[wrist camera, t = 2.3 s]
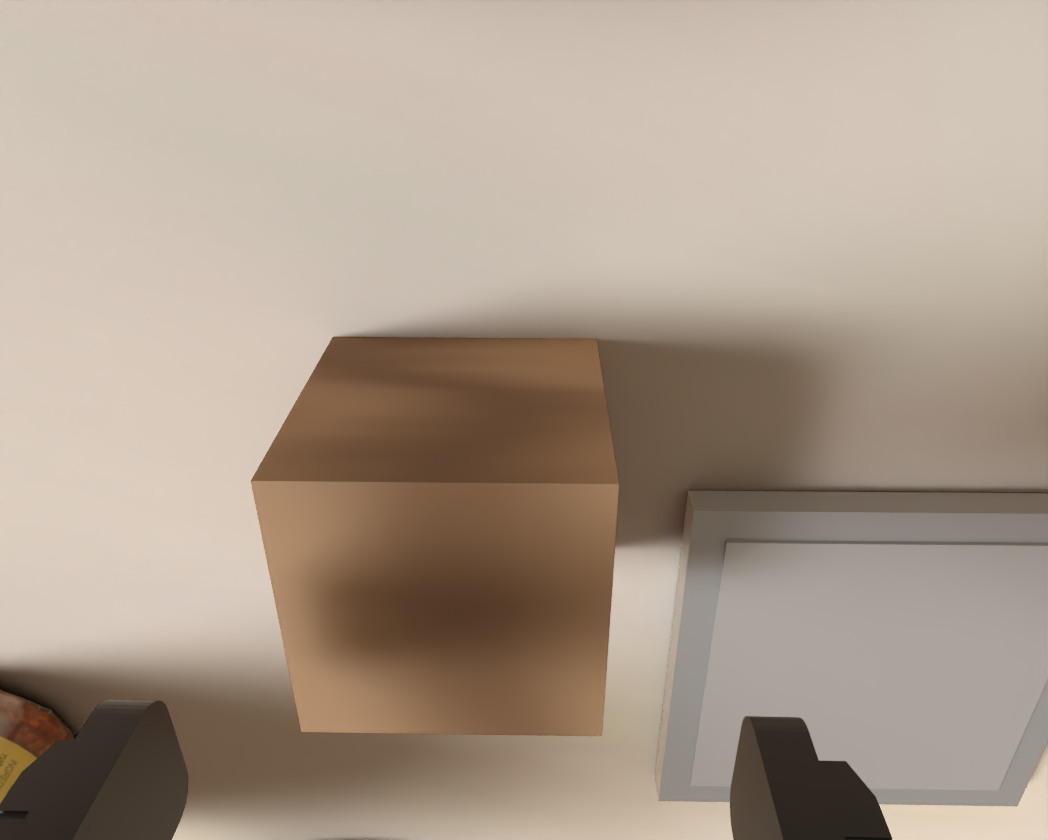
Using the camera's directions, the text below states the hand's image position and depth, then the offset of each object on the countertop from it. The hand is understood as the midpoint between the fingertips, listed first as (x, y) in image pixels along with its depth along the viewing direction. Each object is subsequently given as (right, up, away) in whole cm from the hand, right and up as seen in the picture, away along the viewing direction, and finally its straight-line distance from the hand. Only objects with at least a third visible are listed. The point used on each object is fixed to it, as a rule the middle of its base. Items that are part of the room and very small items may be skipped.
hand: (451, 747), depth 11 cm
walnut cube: (0, +4, +7) cm, 8 cm away
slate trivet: (+10, -1, +10) cm, 14 cm away
